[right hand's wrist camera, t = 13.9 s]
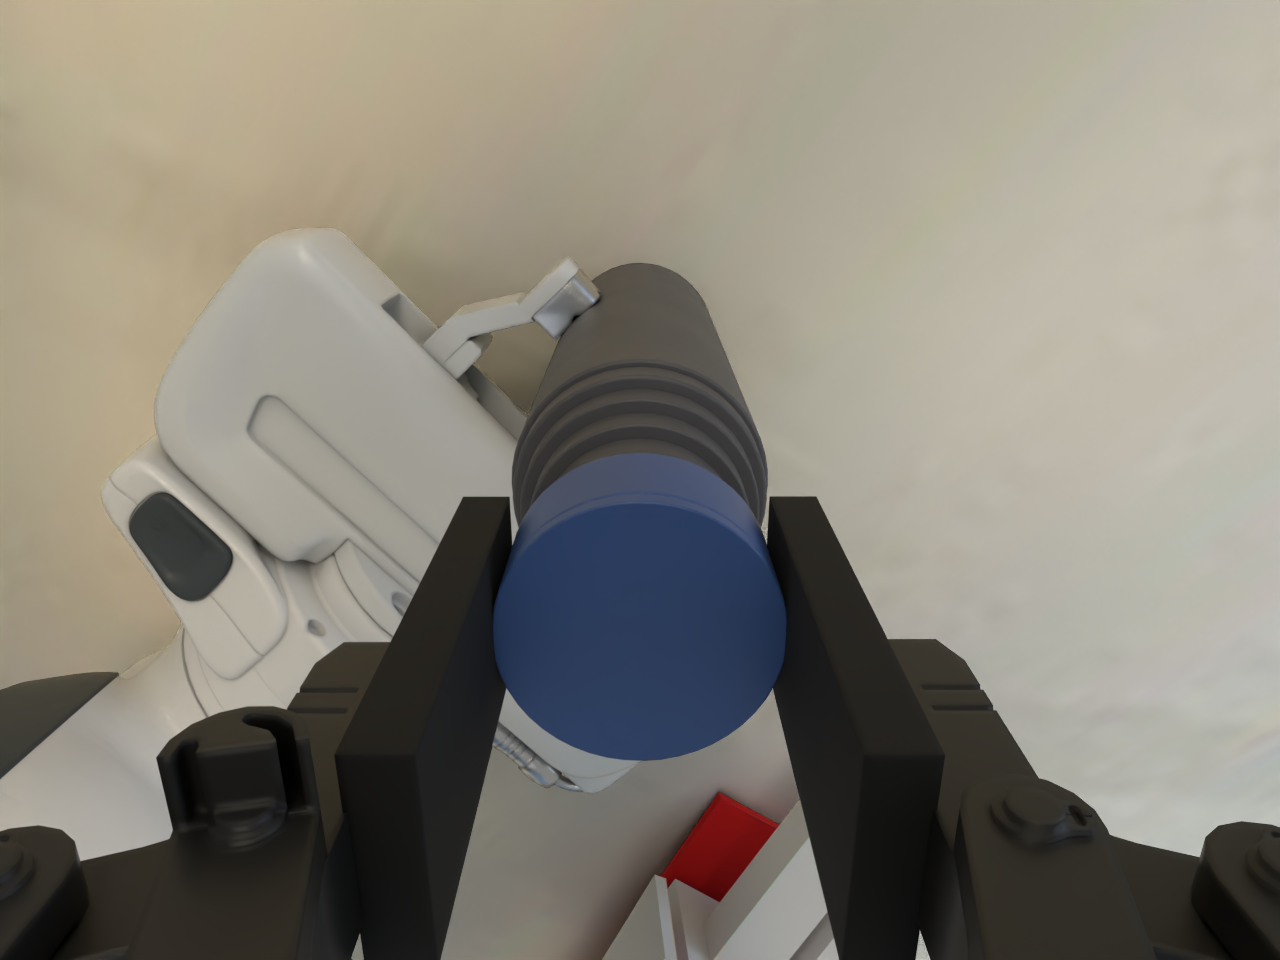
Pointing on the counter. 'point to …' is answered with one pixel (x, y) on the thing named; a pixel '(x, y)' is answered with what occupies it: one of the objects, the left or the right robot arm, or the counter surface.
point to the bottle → (640, 391)
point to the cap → (639, 609)
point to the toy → (733, 894)
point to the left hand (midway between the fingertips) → (660, 357)
